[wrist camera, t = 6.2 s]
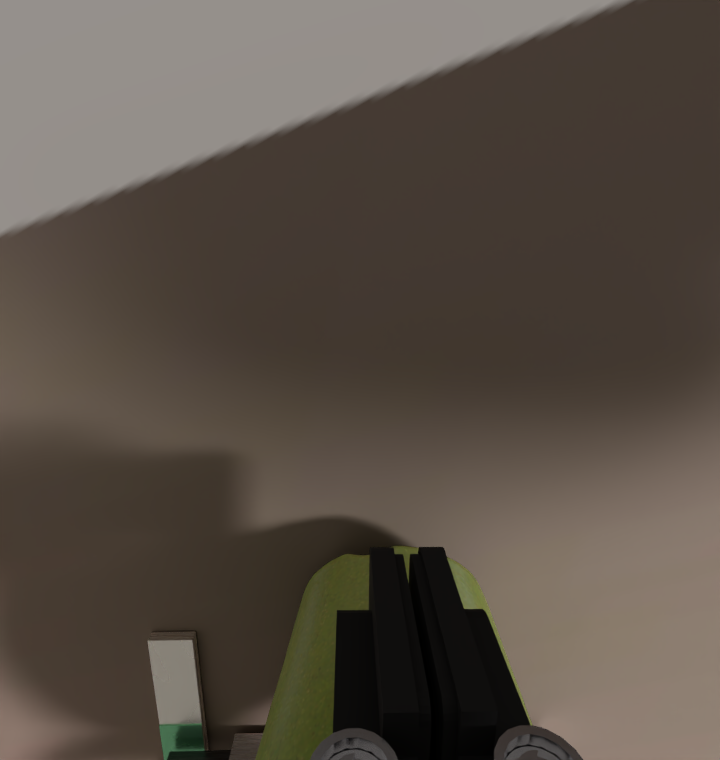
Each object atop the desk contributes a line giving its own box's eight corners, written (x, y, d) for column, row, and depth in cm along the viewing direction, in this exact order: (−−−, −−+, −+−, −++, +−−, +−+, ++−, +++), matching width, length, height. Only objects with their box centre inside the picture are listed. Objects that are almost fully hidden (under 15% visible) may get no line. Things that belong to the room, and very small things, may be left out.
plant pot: (435, 695, 19) (479, 1075, 12) (217, 632, 17) (99, 1045, 10) (590, 564, 15) (819, 1034, 7) (323, 459, 13) (259, 964, 5)
